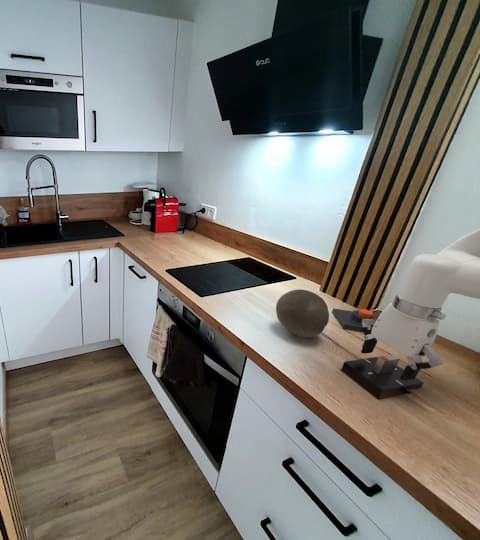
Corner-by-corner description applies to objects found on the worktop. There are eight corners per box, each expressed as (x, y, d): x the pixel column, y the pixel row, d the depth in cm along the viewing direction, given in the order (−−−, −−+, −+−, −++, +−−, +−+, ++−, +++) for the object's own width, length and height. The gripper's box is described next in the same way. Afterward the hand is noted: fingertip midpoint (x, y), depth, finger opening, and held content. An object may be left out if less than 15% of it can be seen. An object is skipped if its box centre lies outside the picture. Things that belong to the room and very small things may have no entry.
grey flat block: (376, 323, 100) (381, 311, 98) (392, 341, 91) (399, 328, 89) (330, 315, 104) (334, 303, 102) (341, 332, 94) (346, 319, 92)
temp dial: (387, 368, 75) (394, 353, 73) (393, 372, 73) (400, 357, 71) (372, 370, 74) (379, 356, 72) (377, 374, 72) (385, 360, 70)
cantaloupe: (303, 321, 100) (316, 283, 94) (330, 347, 87) (347, 305, 81) (263, 320, 100) (274, 282, 94) (284, 346, 87) (298, 303, 81)
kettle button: (368, 314, 97) (370, 310, 96) (373, 319, 93) (375, 315, 93) (355, 312, 98) (357, 308, 97) (360, 317, 94) (362, 313, 94)
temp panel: (378, 364, 80) (382, 355, 79) (418, 391, 72) (424, 382, 70) (340, 370, 78) (344, 361, 77) (377, 399, 69) (383, 389, 68)
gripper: (476, 327, 59) (436, 389, 66) (388, 289, 74) (363, 342, 81) (449, 330, 57) (411, 393, 64) (365, 291, 73) (342, 345, 80)
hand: (384, 364), depth 73 cm, fingers open, 9 cm apart
